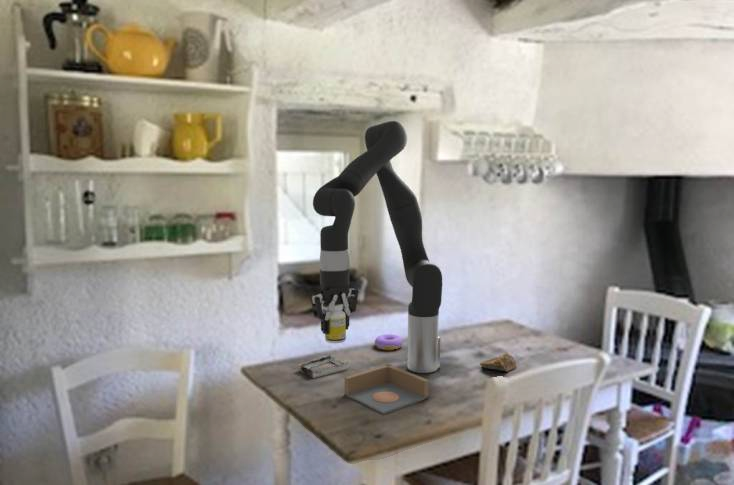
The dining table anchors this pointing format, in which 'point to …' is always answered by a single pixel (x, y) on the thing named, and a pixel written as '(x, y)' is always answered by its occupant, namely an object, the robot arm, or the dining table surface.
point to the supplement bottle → (337, 325)
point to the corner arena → (386, 388)
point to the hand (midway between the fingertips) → (335, 331)
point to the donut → (388, 342)
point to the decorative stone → (500, 363)
